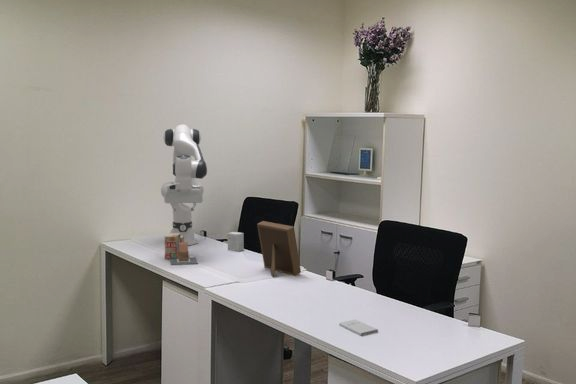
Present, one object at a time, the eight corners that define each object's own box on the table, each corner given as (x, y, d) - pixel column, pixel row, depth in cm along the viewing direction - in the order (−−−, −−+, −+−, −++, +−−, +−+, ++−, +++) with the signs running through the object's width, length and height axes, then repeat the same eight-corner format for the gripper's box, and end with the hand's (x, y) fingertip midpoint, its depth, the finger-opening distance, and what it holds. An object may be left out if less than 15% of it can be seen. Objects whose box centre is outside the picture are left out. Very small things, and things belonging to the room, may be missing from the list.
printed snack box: (173, 251, 326) (173, 230, 325) (184, 251, 326) (184, 230, 325) (164, 258, 305) (164, 236, 304) (176, 258, 304) (176, 236, 303)
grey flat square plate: (169, 259, 306) (169, 257, 306) (195, 258, 309) (195, 256, 309) (170, 265, 292) (170, 263, 292) (197, 264, 296) (197, 262, 296)
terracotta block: (179, 250, 302) (179, 242, 301) (187, 250, 303) (187, 242, 302) (179, 252, 297) (179, 244, 297) (188, 252, 298) (188, 243, 298)
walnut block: (178, 259, 302) (178, 250, 302) (188, 259, 304) (188, 250, 303) (179, 261, 298) (179, 252, 297) (188, 261, 299) (188, 252, 298)
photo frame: (270, 266, 294) (270, 219, 291) (300, 274, 279) (301, 225, 276) (249, 271, 283) (249, 223, 280) (280, 279, 269) (281, 229, 266)
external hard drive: (360, 337, 197) (338, 326, 207) (377, 333, 201) (356, 323, 211) (360, 333, 197) (339, 322, 207) (378, 329, 201) (356, 318, 211)
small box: (243, 250, 332) (244, 233, 331) (238, 252, 327) (238, 234, 326) (233, 248, 336) (233, 231, 335) (227, 250, 331) (227, 232, 330)
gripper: (202, 184, 302) (202, 210, 303) (164, 185, 297) (164, 210, 298) (203, 186, 295) (203, 211, 297) (164, 186, 291) (164, 212, 292)
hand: (183, 211), depth 298 cm, fingers open, 8 cm apart
